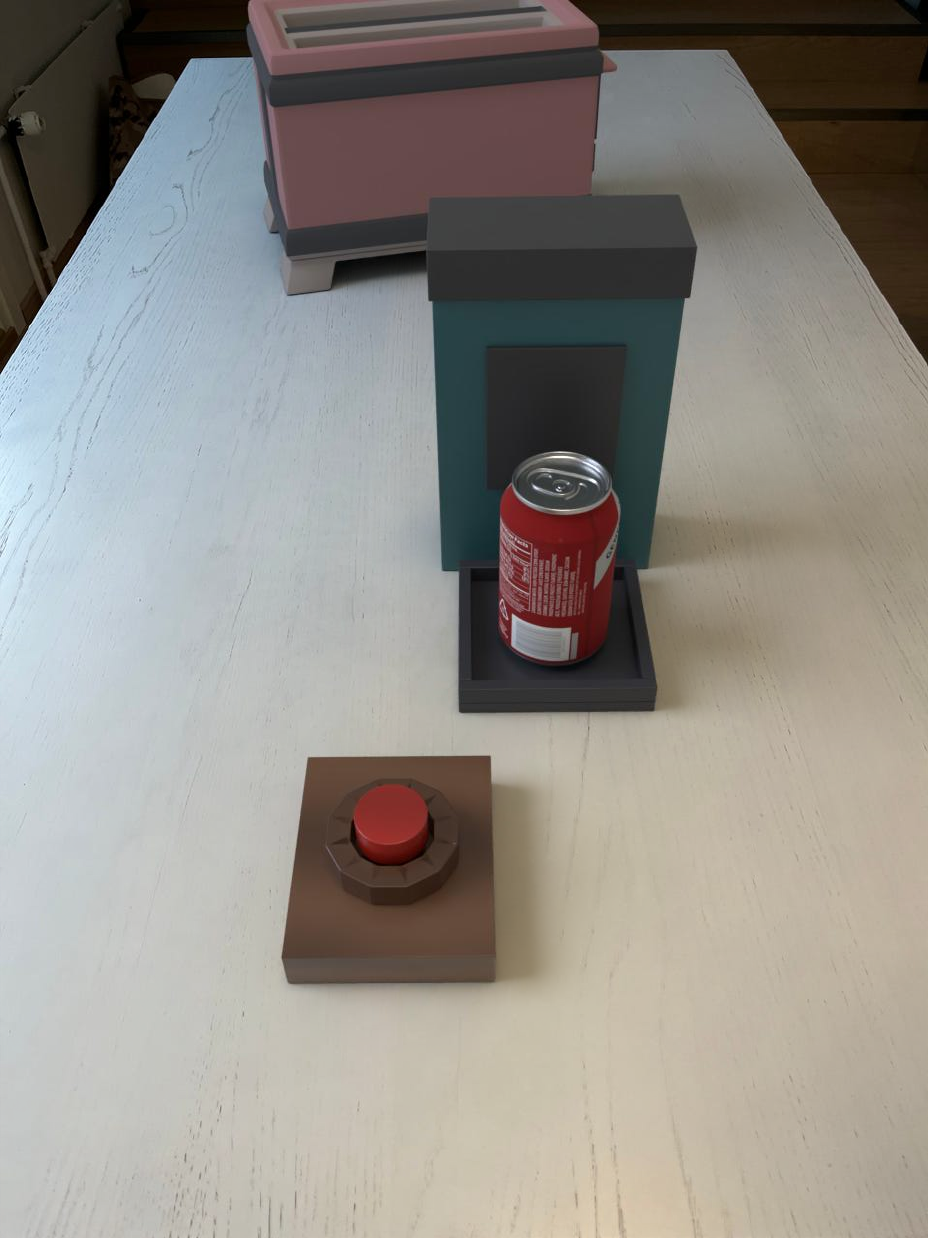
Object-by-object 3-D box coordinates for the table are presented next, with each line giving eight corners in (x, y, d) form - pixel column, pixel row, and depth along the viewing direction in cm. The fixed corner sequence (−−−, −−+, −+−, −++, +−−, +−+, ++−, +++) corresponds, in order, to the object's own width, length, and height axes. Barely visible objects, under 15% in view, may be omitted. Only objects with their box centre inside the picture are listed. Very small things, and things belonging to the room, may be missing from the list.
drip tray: (654, 711, 65) (657, 688, 63) (458, 712, 65) (458, 689, 63) (632, 580, 73) (635, 558, 72) (459, 582, 73) (458, 559, 72)
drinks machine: (651, 572, 74) (697, 246, 58) (438, 574, 74) (426, 249, 58) (639, 510, 79) (679, 193, 63) (440, 512, 79) (429, 196, 63)
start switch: (495, 982, 52) (495, 939, 50) (287, 983, 52) (276, 940, 50) (490, 782, 61) (490, 736, 58) (312, 783, 61) (304, 737, 58)
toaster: (628, 251, 108) (650, 24, 94) (286, 295, 103) (255, 60, 88) (568, 177, 122) (579, -32, 108) (263, 212, 116) (232, -4, 102)
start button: (427, 865, 53) (426, 844, 52) (353, 865, 53) (350, 845, 52) (429, 804, 56) (428, 783, 54) (359, 805, 56) (356, 784, 54)
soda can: (573, 689, 65) (586, 533, 57) (478, 646, 68) (477, 491, 59) (625, 623, 69) (644, 468, 61) (533, 584, 72) (539, 431, 63)
